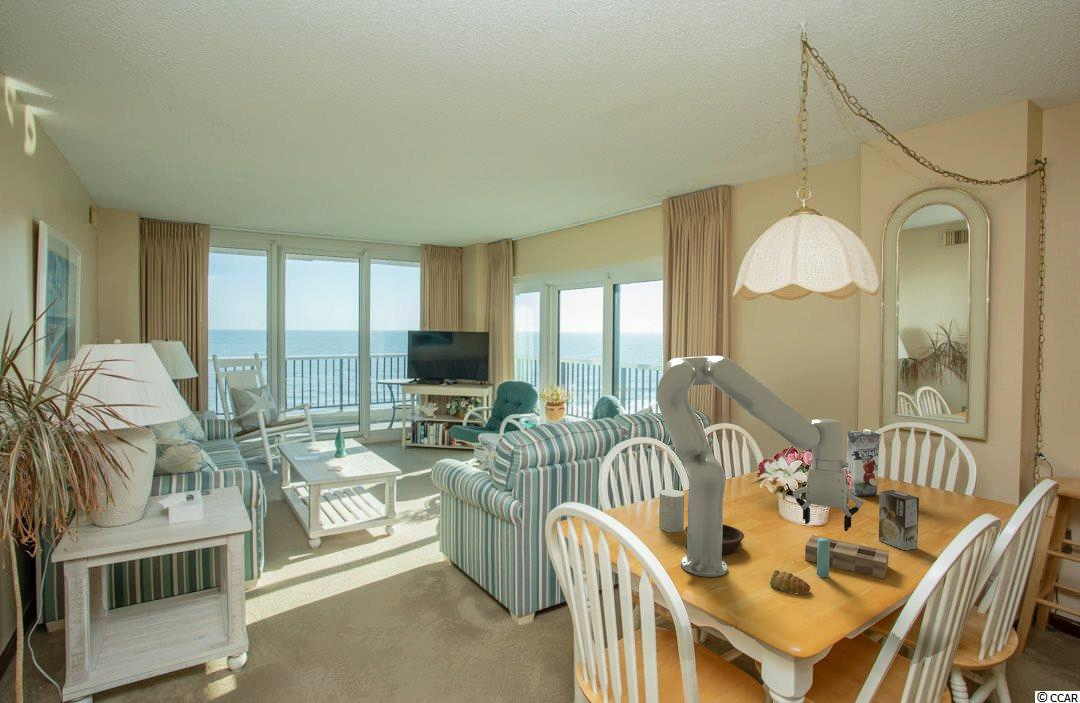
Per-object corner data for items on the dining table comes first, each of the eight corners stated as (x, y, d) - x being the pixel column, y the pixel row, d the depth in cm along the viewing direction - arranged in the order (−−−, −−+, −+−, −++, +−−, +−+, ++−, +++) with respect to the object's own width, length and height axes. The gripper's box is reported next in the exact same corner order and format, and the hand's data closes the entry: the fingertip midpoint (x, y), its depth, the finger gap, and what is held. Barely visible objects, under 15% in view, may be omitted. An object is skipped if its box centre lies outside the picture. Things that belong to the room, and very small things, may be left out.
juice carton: (842, 491, 233) (844, 427, 231) (864, 490, 235) (866, 426, 233) (857, 497, 224) (860, 431, 223) (880, 496, 226) (883, 430, 225)
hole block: (884, 579, 152) (885, 562, 152) (805, 560, 164) (805, 545, 164) (888, 566, 160) (888, 551, 160) (811, 549, 172) (812, 535, 172)
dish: (760, 549, 172) (761, 533, 172) (712, 565, 160) (712, 548, 160) (715, 531, 187) (715, 516, 187) (667, 544, 175) (668, 529, 175)
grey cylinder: (654, 525, 191) (654, 491, 191) (672, 522, 195) (673, 488, 194) (669, 533, 184) (670, 497, 183) (688, 529, 188) (689, 494, 187)
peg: (827, 579, 152) (828, 543, 151) (815, 576, 153) (816, 540, 153) (829, 575, 154) (830, 539, 154) (817, 572, 156) (818, 537, 155)
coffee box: (918, 548, 173) (921, 497, 172) (904, 551, 171) (906, 499, 170) (891, 537, 182) (892, 489, 181) (876, 540, 180) (878, 491, 179)
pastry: (812, 589, 146) (813, 575, 146) (806, 599, 141) (806, 584, 141) (775, 579, 152) (775, 565, 152) (767, 588, 147) (768, 574, 146)
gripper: (865, 465, 150) (864, 528, 151) (795, 457, 160) (795, 516, 161) (861, 471, 144) (861, 537, 145) (789, 463, 154) (789, 524, 155)
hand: (826, 526), depth 153 cm, fingers open, 9 cm apart
